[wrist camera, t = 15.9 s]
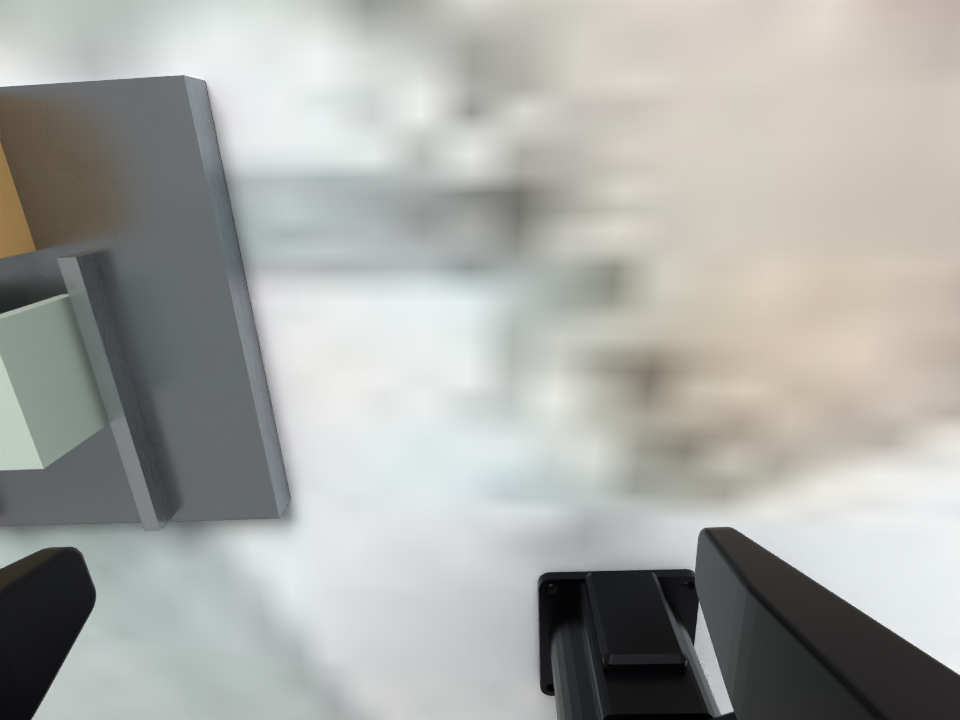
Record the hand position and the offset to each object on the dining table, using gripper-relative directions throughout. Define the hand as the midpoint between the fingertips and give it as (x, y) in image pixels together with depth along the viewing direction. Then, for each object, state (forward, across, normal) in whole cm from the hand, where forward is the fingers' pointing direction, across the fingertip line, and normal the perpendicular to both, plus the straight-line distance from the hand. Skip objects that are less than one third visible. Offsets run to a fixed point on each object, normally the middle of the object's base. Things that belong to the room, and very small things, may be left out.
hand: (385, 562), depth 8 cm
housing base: (+12, +15, -1) cm, 19 cm away
